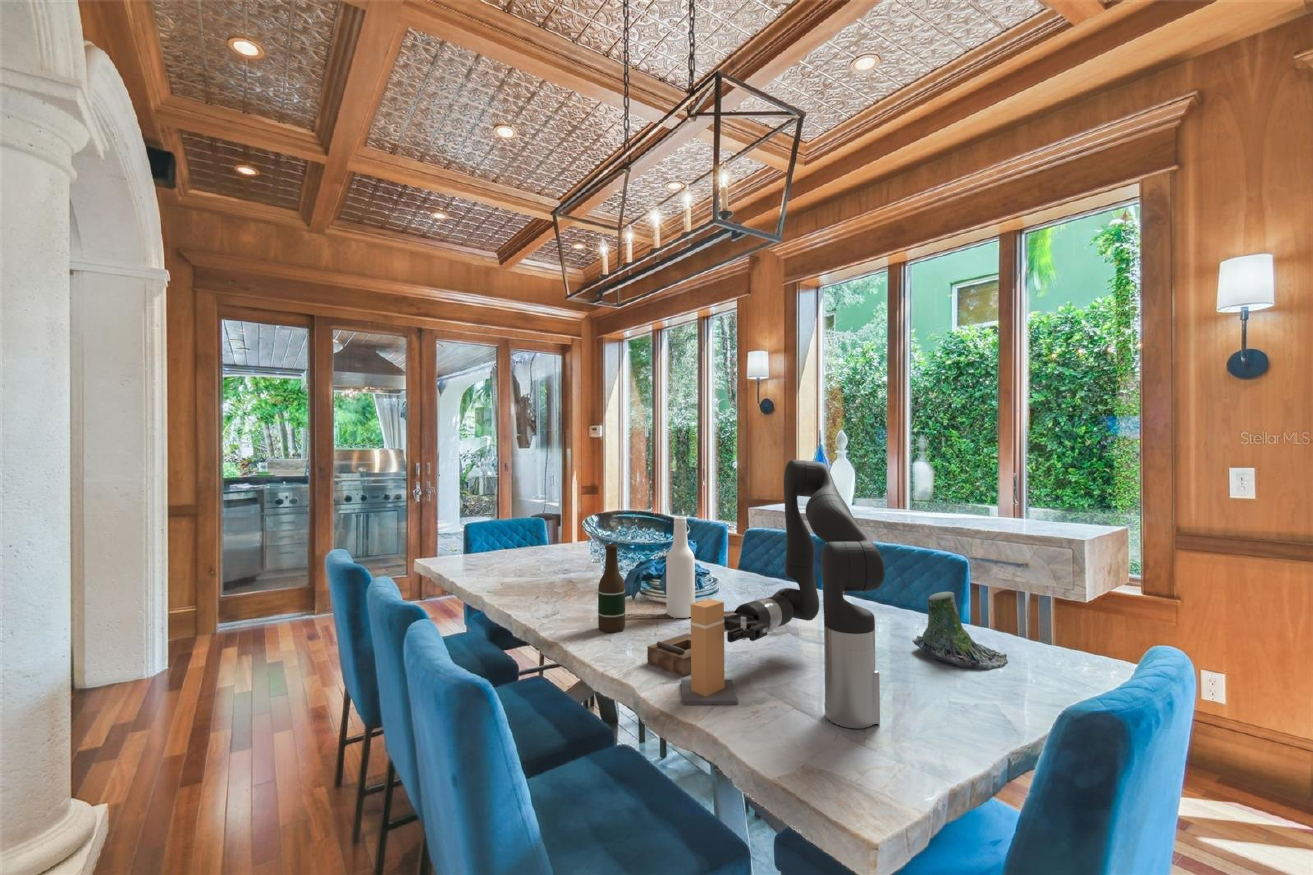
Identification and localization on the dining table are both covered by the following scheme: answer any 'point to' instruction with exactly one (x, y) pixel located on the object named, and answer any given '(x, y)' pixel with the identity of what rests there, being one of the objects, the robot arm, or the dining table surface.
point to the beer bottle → (611, 595)
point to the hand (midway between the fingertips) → (712, 632)
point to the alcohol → (680, 573)
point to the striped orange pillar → (707, 647)
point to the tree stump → (954, 637)
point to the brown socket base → (672, 654)
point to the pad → (719, 697)
